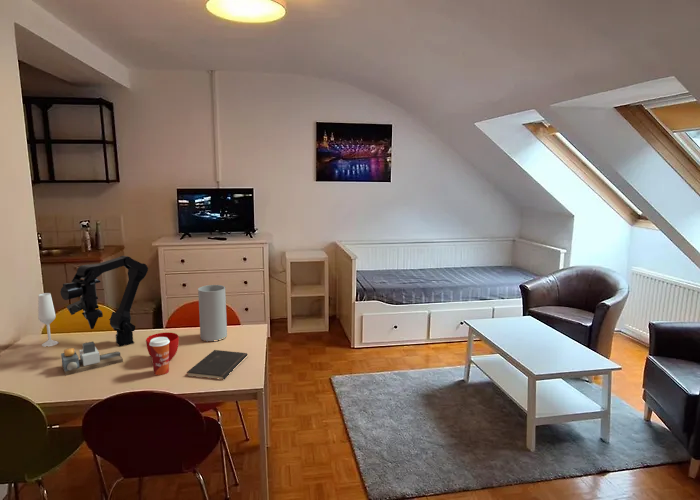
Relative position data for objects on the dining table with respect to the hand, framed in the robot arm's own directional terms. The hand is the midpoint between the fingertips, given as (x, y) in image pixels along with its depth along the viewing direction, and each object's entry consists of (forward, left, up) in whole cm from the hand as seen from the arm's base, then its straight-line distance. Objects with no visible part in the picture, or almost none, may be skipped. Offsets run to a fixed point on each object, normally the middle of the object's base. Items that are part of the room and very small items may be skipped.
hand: (92, 328), depth 200 cm
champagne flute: (+14, -26, -12) cm, 32 cm away
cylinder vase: (-50, +12, -12) cm, 53 cm away
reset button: (+10, +11, -6) cm, 16 cm away
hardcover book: (-39, +44, -13) cm, 60 cm away
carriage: (+3, +11, -10) cm, 15 cm away
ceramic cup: (-22, +22, -12) cm, 33 cm away
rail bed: (+2, +11, -12) cm, 16 cm away
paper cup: (-18, +36, -12) cm, 42 cm away
